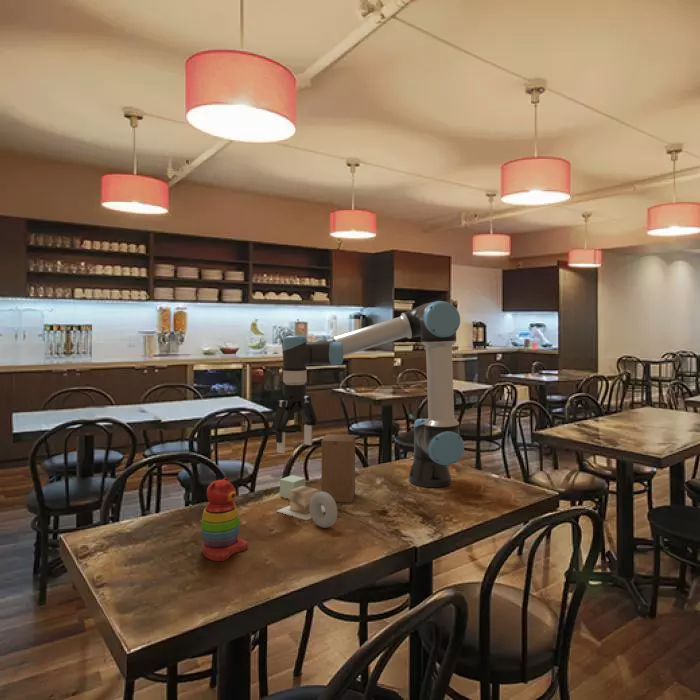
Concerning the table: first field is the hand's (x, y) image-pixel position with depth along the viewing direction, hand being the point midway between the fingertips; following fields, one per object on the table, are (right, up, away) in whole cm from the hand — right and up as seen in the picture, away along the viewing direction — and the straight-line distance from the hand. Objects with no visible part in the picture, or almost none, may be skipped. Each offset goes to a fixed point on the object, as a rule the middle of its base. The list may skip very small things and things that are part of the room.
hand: (295, 448), depth 170 cm
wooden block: (+14, -17, +2) cm, 22 cm away
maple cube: (+4, -17, -10) cm, 20 cm away
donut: (+10, -18, -23) cm, 31 cm away
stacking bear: (-14, -18, -39) cm, 45 cm away
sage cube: (-1, -17, +4) cm, 17 cm away
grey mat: (+4, -17, -10) cm, 20 cm away
